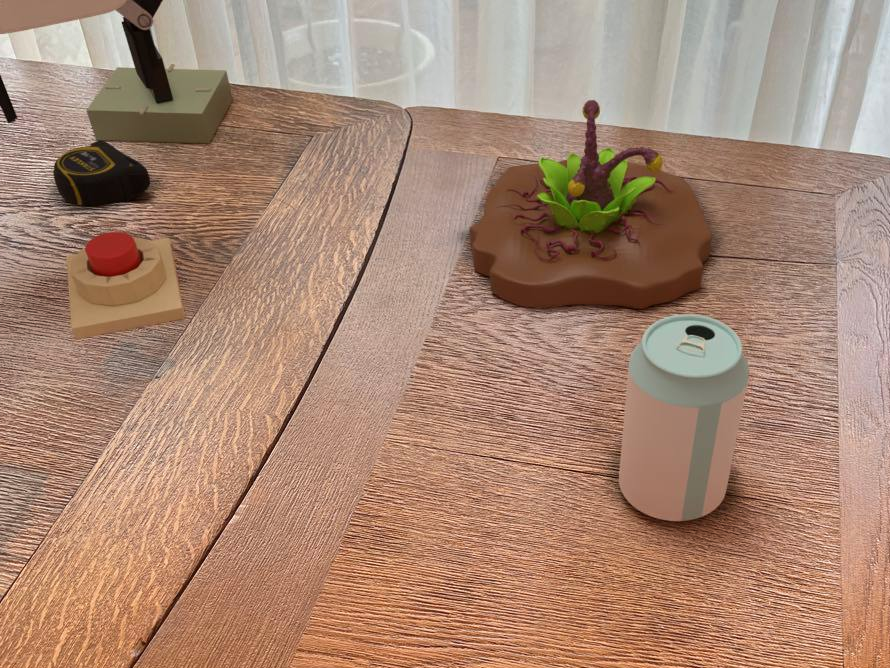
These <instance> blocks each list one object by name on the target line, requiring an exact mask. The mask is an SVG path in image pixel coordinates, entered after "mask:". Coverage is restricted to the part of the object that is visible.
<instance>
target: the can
mask: <svg viewBox="0 0 890 668" xmlns="http://www.w3.org/2000/svg"><path fill="white" fill-rule="evenodd" d="M641 338H642V339H641V340H640V342H639V343H638V344H636V346H634V348H633V350H632V352H631V354H630V355H629V360H628V368H627V379H626V389H625V391H626V392H625V403H624V414H623V424H622V425H623V426H622V437H621V450H620V458H619V459H620V460H619V461H620V462H619V471H618V472H619V473H618V485H619V488H620V492H621V494H622V495H623V497H624V498H625V499H626V501H627V502H628V504H630V505H631V506H632V507H634V508H635V509H636V510H637V511H639V512H641V513H643V514H645V515H647V516H650V517H652V518H655V519H659V520H663V521H669V522H685V521H686V522H687V521H692V520H695V519H699V518H702V517H705V516H706V515H708V514H711V513H712V512H713V511H715V510H716V509H717V508H718V507H719V506H720V505H721V503H722V502H723V500H724V499H725V497H726V493H727V489H728V484H729V479H730V474H731V470H732V469H731V468H732V463H733V459H734V454H735V448H736V444H737V439H738V433H739V429H740V424H741V418H742V415H743V414H742V413H743V409H744V408H743V407H744V403H745V398H746V394H747V388H748V383H749V380H750V379H749V378H750V367H749V363H748V360H747V358H746V355H745V354H744V353H743V349H744V347H743V343H742V340H741V339H740V336H739V335H738V334H737V333H736V331H735V330H733V329H732V327H730V326H728V325H727V324H725V323H724V322H722V321H720V320H719V319H715V318H713V317H710V316H706V315H701V314H690V313H684V314H682V313H681V314H675V315H674V314H673V315H670V316H667V317H663V318H661V319H659V320H657V321H655V322H653V323H652V324H651V325H649V326H648V327H647V328H646V329H645V331H644V333H643V335H642V337H641Z"/></svg>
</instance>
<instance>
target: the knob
mask: <svg viewBox="0 0 890 668" xmlns="http://www.w3.org/2000/svg"><path fill="white" fill-rule="evenodd" d="M154 46H155V50H156V53H157V57H158V60H159V64H160V68H161V70H157V71H153V73H154V76H155V80H156V83H157V87H158V88H157V89H153V90H150V89H149V90H150V92H151V94H152V96H153V97H154V99H155V101H156V103H161V102H166V101H171V100H173V96H172V93H171V89H170V85H169V81H168V78H167V74H166V70H165V69H166V67H165V63H164V60H163V57H162V56H161V53H160V51H159V50H158V48H157V46H156V45H155V44H154Z"/></svg>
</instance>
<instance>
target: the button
mask: <svg viewBox="0 0 890 668" xmlns="http://www.w3.org/2000/svg"><path fill="white" fill-rule="evenodd" d="M134 238H135V237H133V236H132V235H131V234H129V233H126V232H122V231H110V232H104V233H102V234H98V235H96V236H94V237H92V238H91V239H90V240H88V242H87V243H86V244H85V247H84V248H85V252H86V254H87V257H88V260H89V262H90V265H91V268H92V270H93V272H94V273H95V274H96V275H98V276H104V277H113V276H118V275H124V274H126V273H128V272H130V271H132V270H134V269H136V268H138V267H139V265H140V264H141V258H140V255H139V252H138V249H137V246H136V243H135V240H134Z"/></svg>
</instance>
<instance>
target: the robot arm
mask: <svg viewBox="0 0 890 668" xmlns="http://www.w3.org/2000/svg"><path fill="white" fill-rule="evenodd" d="M163 1H164V0H0V35H6V34H14V33H19V32H23V31H24V32H25V31H28V30H34V29H38V28H44V27H48V26H49V27H50V26H53V25H58V24H63V23H68V22H69V23H70V22H73V21H78V20H83V19H87V18H92V17H97V16H100V15H105V14H108V13H112V12H114V11H116V12H117V13H118V14H120V15H121V16H122V19H123V20H122V21H121V25H122V29H123V33H124V36H125V39H126V42H127V45H128V49H129V52H130V53H129V54H130V55H131V58H132V62H133V65H134V68H135V69H136V72H137V75H138V76H139V78H140V79H141V81H142V82H143V84H144V85H145V87H146V88H147V89H148V88H149V89H150V90H153V89H157V88H158V87H157V83H156V80H155V76H154V73H153V71H157V70H161V68H160V64H159V60H158V57H157V53H156V50H155V47H156V45H155V43H154V39H153V36H152V32H151V28H152V27H153V25H154V17H155V15H156V13H157V12H158V10H159V8H160V6H161V4H162V3H163ZM154 45H155V46H154ZM0 109H1V111H2V113H3V115H4V118H5V120H6V122H7V124H10V123H15V122H16V120H17V119H18V116H17V113H16V111H15V108H14V106H13V103H12V100H11V98H10V95H9V92H8V90H7V88H6V85H5V83H4V81H3V78H2V74H0Z"/></svg>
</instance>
